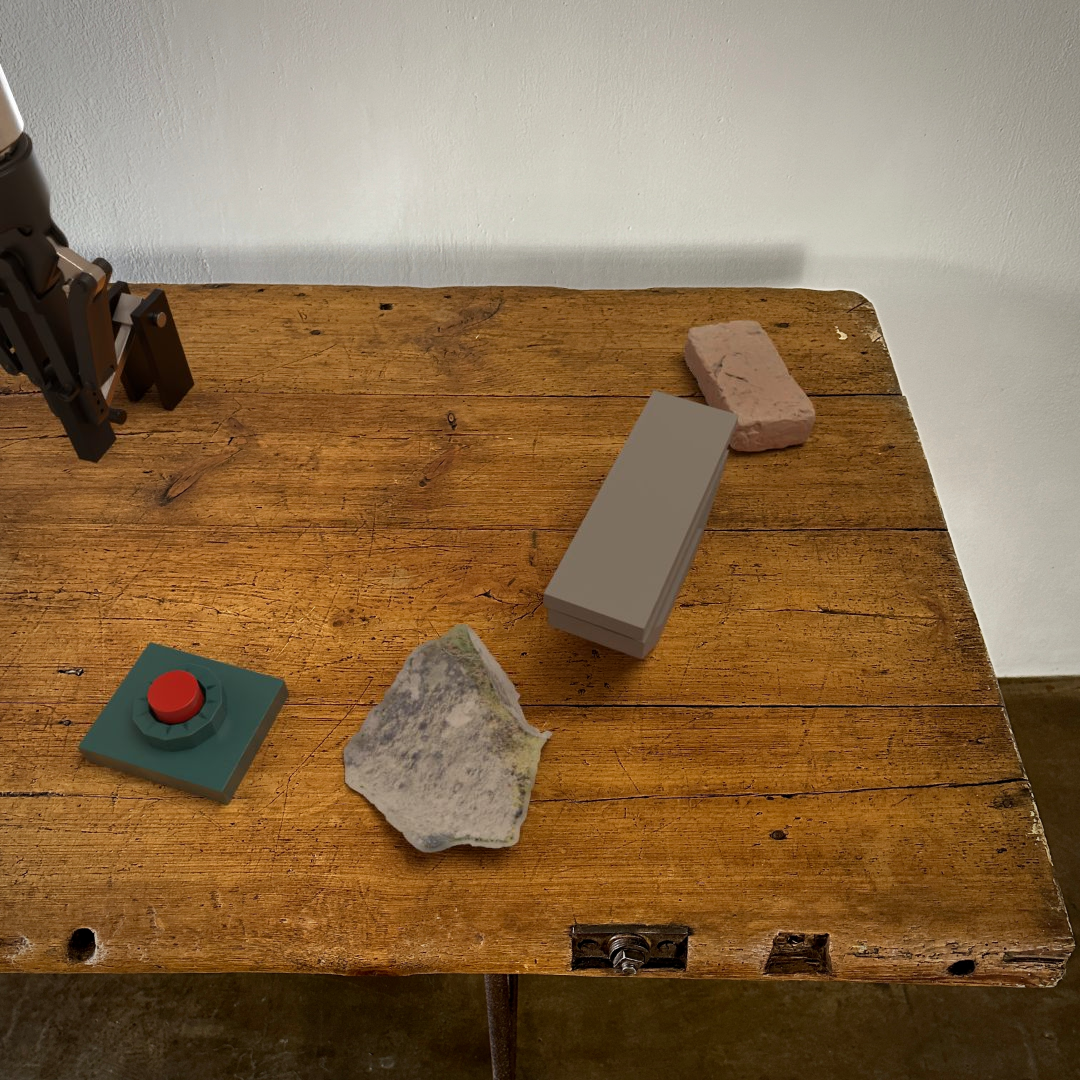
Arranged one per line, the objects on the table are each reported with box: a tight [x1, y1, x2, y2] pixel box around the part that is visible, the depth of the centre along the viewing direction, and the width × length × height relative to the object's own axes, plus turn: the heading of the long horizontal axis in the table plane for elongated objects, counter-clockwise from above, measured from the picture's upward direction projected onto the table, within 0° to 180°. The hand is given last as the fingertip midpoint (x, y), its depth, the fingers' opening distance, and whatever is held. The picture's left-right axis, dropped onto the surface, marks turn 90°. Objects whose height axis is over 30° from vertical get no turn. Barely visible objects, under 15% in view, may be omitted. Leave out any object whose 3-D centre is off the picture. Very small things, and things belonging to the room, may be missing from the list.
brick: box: [683, 319, 816, 452], centre depth 101 cm, size 16×8×5 cm, turn 13°
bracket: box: [107, 279, 195, 412], centre depth 96 cm, size 12×9×13 cm
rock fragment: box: [343, 623, 553, 853], centre depth 72 cm, size 15×16×5 cm
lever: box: [101, 293, 145, 426], centre depth 91 cm, size 12×5×2 cm, turn 163°
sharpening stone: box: [542, 390, 739, 660], centre depth 82 cm, size 25×8×11 cm, turn 157°
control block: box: [77, 641, 290, 806], centre depth 74 cm, size 12×10×4 cm
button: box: [148, 671, 203, 724], centre depth 73 cm, size 4×4×2 cm
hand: (98, 448), depth 72 cm, fingers closed
